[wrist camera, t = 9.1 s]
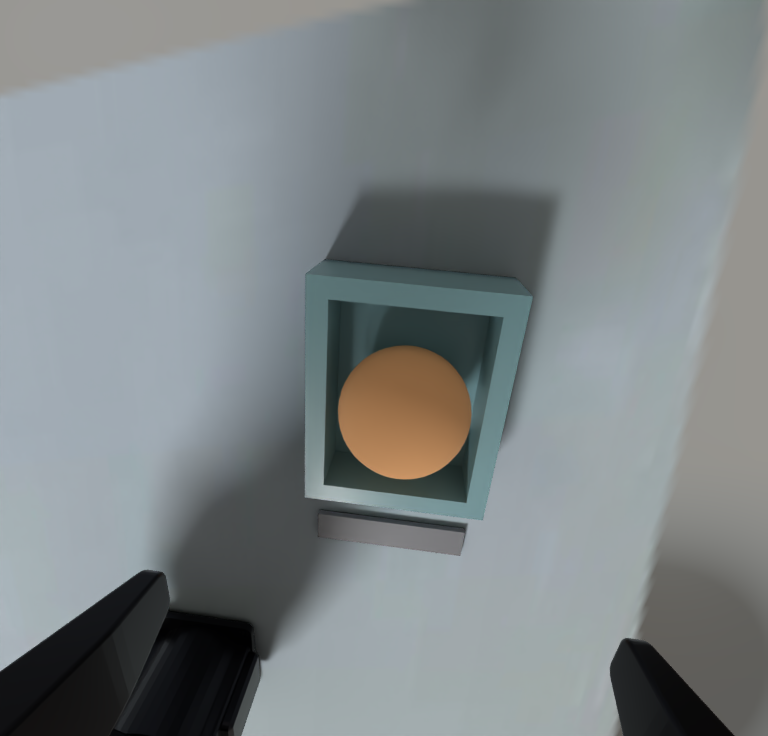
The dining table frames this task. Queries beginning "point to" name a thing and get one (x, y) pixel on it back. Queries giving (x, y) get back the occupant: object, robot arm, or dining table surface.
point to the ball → (404, 412)
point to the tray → (414, 328)
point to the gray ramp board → (390, 532)
